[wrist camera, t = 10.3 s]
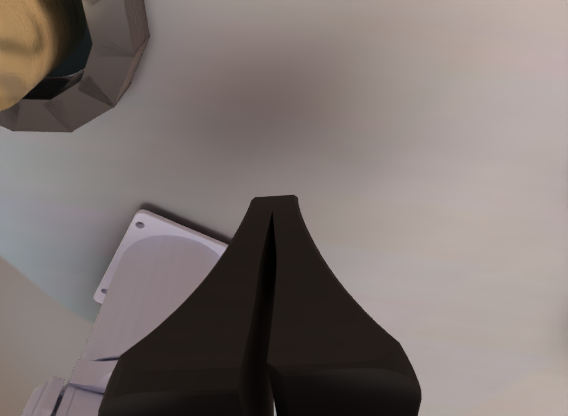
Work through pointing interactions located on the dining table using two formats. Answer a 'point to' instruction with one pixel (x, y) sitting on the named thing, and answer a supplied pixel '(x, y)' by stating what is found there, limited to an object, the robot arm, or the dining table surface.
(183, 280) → the robot arm
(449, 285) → the dining table surface
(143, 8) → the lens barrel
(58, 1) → the gold metal cylinder
